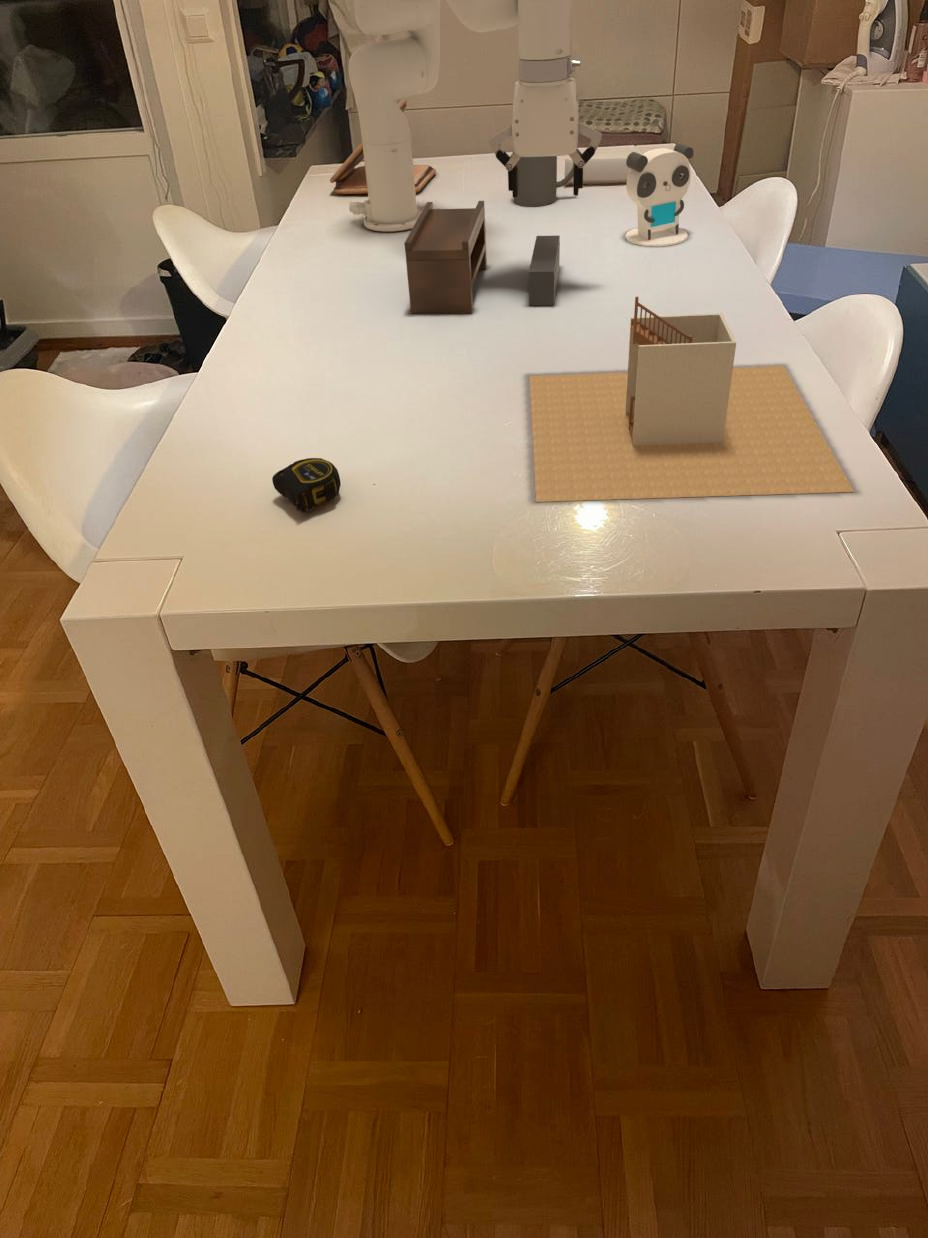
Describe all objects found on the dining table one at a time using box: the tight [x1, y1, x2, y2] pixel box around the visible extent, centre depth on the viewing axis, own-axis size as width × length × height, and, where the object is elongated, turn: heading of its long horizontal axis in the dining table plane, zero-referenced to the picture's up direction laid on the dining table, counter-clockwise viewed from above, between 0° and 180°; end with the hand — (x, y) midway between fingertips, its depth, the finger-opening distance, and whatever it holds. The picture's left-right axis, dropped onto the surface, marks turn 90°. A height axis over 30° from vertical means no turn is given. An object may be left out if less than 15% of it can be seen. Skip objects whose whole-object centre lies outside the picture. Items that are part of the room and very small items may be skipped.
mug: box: [513, 156, 575, 207], centre depth 191 cm, size 14×9×12 cm
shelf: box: [403, 200, 488, 315], centre depth 154 cm, size 10×22×11 cm, turn 173°
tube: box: [564, 157, 631, 187], centre depth 201 cm, size 5×5×25 cm
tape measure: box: [271, 457, 342, 513], centre depth 106 cm, size 7×7×4 cm
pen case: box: [528, 235, 561, 307], centre depth 154 cm, size 4×18×6 cm, turn 173°
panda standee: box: [625, 143, 694, 248], centre depth 168 cm, size 12×11×15 cm
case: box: [329, 98, 437, 195], centre depth 207 cm, size 20×21×16 cm
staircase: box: [624, 296, 737, 446], centre depth 110 cm, size 9×11×17 cm
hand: (545, 194), depth 147 cm, fingers open, 9 cm apart
